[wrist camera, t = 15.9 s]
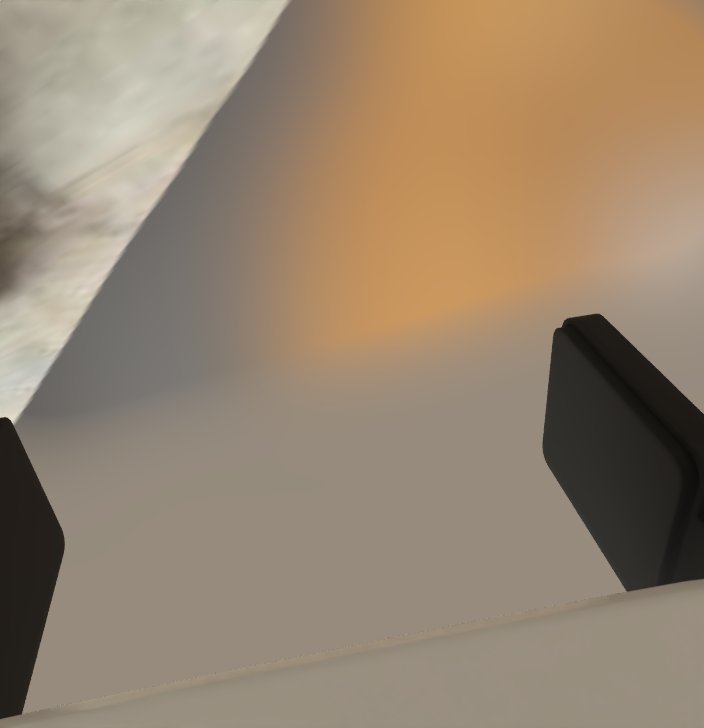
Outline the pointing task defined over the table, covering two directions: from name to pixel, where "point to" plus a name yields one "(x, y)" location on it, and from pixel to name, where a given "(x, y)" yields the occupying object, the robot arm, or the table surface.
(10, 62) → the table surface
